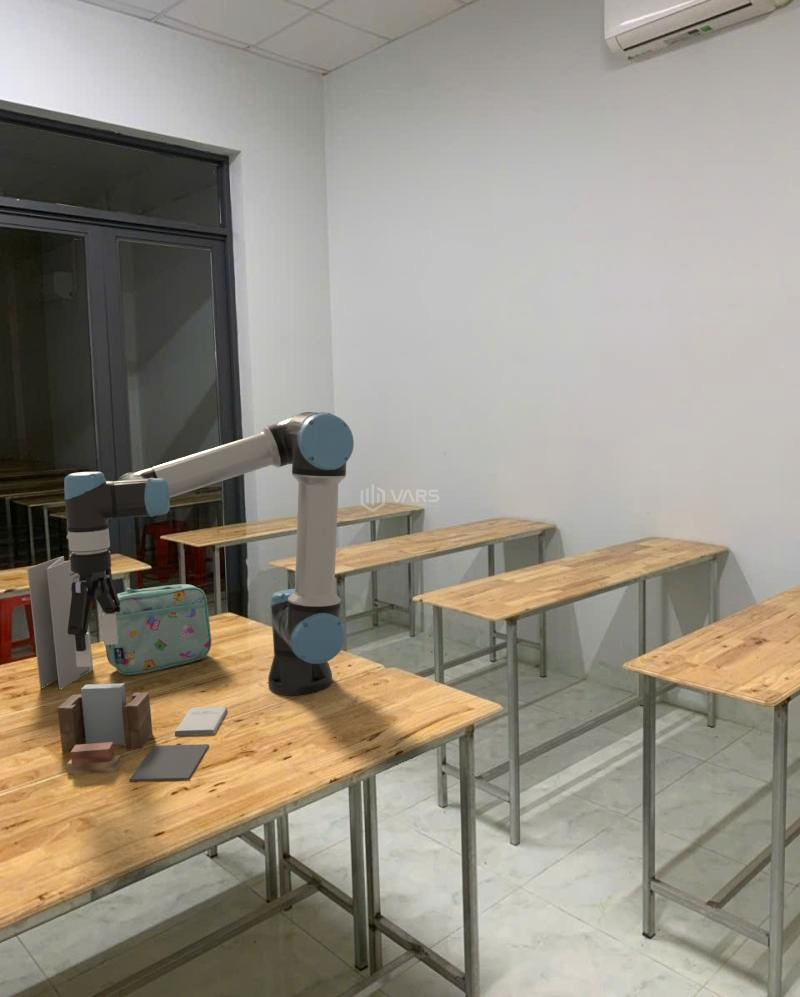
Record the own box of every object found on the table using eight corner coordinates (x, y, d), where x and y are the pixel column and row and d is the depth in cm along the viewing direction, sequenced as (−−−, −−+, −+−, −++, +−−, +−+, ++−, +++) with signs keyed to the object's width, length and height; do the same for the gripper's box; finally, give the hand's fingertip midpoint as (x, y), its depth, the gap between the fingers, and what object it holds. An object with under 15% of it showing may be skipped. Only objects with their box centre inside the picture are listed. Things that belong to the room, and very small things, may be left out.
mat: (208, 746, 164) (208, 744, 164) (188, 779, 150) (188, 777, 150) (154, 747, 164) (154, 745, 164) (129, 781, 150) (129, 779, 150)
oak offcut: (121, 767, 157) (120, 755, 157) (115, 775, 154) (114, 762, 154) (74, 768, 157) (73, 756, 157) (68, 776, 154) (66, 763, 154)
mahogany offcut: (114, 754, 157) (113, 741, 157) (110, 761, 154) (109, 749, 154) (76, 757, 156) (75, 744, 156) (72, 764, 154) (70, 752, 153)
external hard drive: (175, 738, 170) (190, 713, 182) (214, 736, 170) (227, 712, 182) (174, 730, 170) (190, 706, 182) (213, 729, 169) (227, 705, 182)
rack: (153, 733, 171) (149, 692, 170) (140, 749, 164) (136, 706, 162) (77, 735, 172) (73, 694, 170) (61, 751, 164) (56, 708, 163)
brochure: (60, 690, 199) (47, 568, 194) (39, 689, 200) (27, 568, 196) (93, 669, 212) (82, 556, 208) (74, 669, 213) (62, 555, 209)
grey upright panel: (129, 739, 169) (124, 683, 167) (125, 744, 166) (120, 687, 165) (91, 740, 169) (85, 684, 167) (86, 745, 166) (80, 688, 165)
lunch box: (109, 682, 202) (102, 598, 200) (101, 670, 211) (94, 589, 208) (215, 660, 216) (209, 581, 213) (203, 650, 224) (198, 574, 222)
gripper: (96, 539, 174) (103, 636, 177) (42, 564, 150) (52, 676, 153) (131, 538, 174) (138, 635, 177) (82, 563, 150) (91, 675, 152)
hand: (98, 654), depth 165 cm, fingers open, 13 cm apart
